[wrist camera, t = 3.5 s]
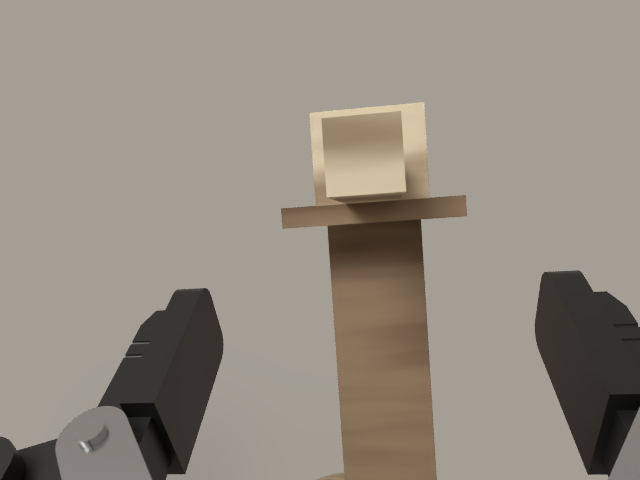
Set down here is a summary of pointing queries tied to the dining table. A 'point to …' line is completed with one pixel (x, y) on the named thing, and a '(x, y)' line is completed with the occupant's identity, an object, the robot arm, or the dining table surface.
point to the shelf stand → (381, 331)
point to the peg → (370, 154)
